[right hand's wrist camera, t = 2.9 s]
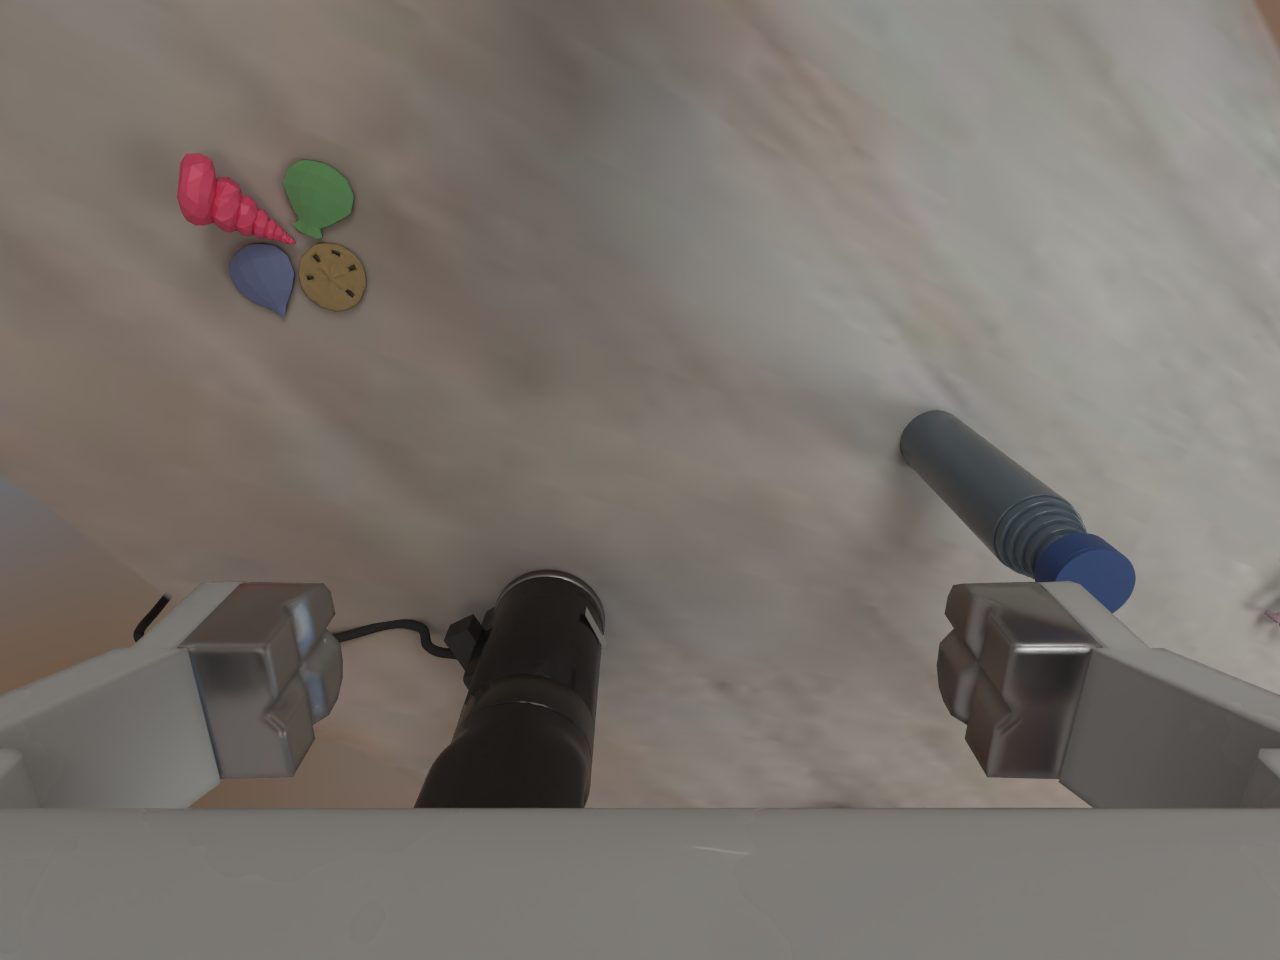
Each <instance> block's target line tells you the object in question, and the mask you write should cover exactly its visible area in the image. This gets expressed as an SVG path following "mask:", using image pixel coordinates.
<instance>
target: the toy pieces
mask: <svg viewBox="0 0 1280 960" xmlns="http://www.w3.org/2000/svg"><path fill="white" fill-rule="evenodd" d="M283 186H284V188H285V191H286V193H287V196H288V198H289V201H290V203H291V206H292V208H293V210H294V211H295V213H296V215H297V217H298V219H299V221H297V222H295V223H294V224H292V225H293V226H294V227H295V228H296V229H297V230H298V231H300V232H302V233H304V234H305V235H308V236H311V237H313V238H323V236H322V233H321V230H320V229H321V228H324V227H327V226H329V225H332V224H334V223H336V222H337V221H339V220H341V219H343V218H344V217H346V216H348V215H350V214H351V210H352V206H353V201H354V195H353V192H352V190H351V188H350V185H349V183H348V180H347V179H346V178H344V177H343V176H342V175H341V174H340V173H339V172H338V171H336V170H335V169H333V168H332V167H330V166H329V165H327V164H324V163H321V162H317V161H311V160H301V161H299V162H297V163H295V164H293V165H291V166H289V167H288V170H287V172H286V175H285V178H284V181H283ZM177 199H178V202H179V205H180V208H181V212H182V213H183V215H184V217H185V218H186V220H187V221H188V222H190V223H192V224H194V225H207V224H211V223H215V224H216V225H217V226H218V227H220V228H221V229H222V230H224V231H225V232H233V231H236V230H238V231H239V232H240V233H241V234H242V235H247V236H251V235H253V234H254V235H255V236H256V237H257V238H260V239H263V238H265V237H267V239H269V240H275V241H281V242H283V243H288V244H292V245H294V244H295V240H293V239H292V237H290V236H288V234H287V232H286V231H283V229H282V227H280V226H278V225H276V221H274V220H272V219H269V217H268V213H267V212H266V211H265V210H263V209H257V204H256V203H255V202H254V201H253V200H252V198H251V197H249V196H243V195H242V192H241V190H240V187H239V185H238V184H237V183H236V182H234V181H233V180H232V179H230V178H229V177H218V178H217V179H216V177H215V168H214V165H213V162H212V160H211V159H209V158H207V157H205V156H204V155H202V154H186V155H185V157H184V158H183V160H182V161H181V163H180V174H179V184H178V194H177ZM332 250H335V251H338V252H340V253H341V254H340V257H339V256H337V255H336V254H332ZM315 254H316V255H317V256H318V257H319V259H320V260H321V261H320V262H317V261H316V260H315V259H314V258H313V256H314V255H315ZM352 265H355V267H356V269H355V270H352V271H350V270H349V267H350V266H352ZM307 276H314V279H312V280H307ZM230 278H231V279H232V281H233V282H234V284H235V285H236V287H237V288H238V290H239V291H240V293H242V294H243V295H245V296H246V297H248V298H249V299H250V300H252V301H253V302H255V303H256V304H259V305H261V306H264V307H266V308H269V309H272V310H274V311H275V312H276V313H277V314H278V315H280V316H284V315H285V313H286V304H287V302H288V299H289V296H290V293H291V290H292V285H293V278H294V271H293V268H292V266H291V263H290V261H289V258H288V256H287V255H286V254H285V253H284V252H282V251H281V250H280V249H279V248H278V247H276V246H273V245H266V244H253V245H246V246H245V247H244V248H242V249H241V250H240V251H238V252H237V253H236V255H235V256H234V257H233V259H232V260H231V261H230ZM299 279H300V283H301V285H302V288H303V290H304V292H305V293H306V295H307V296H308V297H309V298H310V300H312V301H314V302H315V303H317V304H318V305H319V306H320V307H322V308H327V309H330V310H333V311H344V310H348V309H350V308H352V307H353V306H355V305H356V304H357V303H358V302H359V301H360V300H361V298H362V294H363V291H364V289H365V287H366V277H365V272H364V269H363V267H362V265H361V263H360V261H359V260H358V259H357V257H356V256H355V255H354V254H353V253H352V252H351V251H350V250H348V249H346V248H344V247H342V246H340V245H338V244H329V243H321V244H316V245H314V246H312V247H311V248H309V249H308V250H307V251H306V252H305V253H304V254H303V255H302V257H301V260H300V264H299ZM347 289H348V290H350V291H352V292H353V293H354V294H355V295H354V296H353V297H351V296H349V295H348V294H347V293H346V290H347Z"/></svg>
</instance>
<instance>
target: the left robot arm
mask: <svg viewBox="0 0 1280 960" xmlns="http://www.w3.org/2000/svg"><path fill="white" fill-rule="evenodd" d="M170 600H171V598H170V597H168V596H167V595H165V594H164V595H163V596H162V597H161V598H160V600H159V601H158V602H157V603H156V604H155V606H154V607H153V608H152V609H151V610H150V612H149V613H148V614H147V615H146V616H145V617H144V618H143V619H142V620H141V621H140V623H139V624H138V625H137V627H136V629H135V630H134V634H133V635H134V640H135V642H137V641H138V640H139V639H140V638H142V637H143V636H144V632H145V630H146V629H147V627H148V626H149V625H150V624H151V623H152V622H153V620H154V619H155V618H156V617H157V616H158V615H159V613H160V612H161V611H162V610H163V608H164V607H165V606H166V605H167V603H168V602H169V601H170ZM604 625H605V615H604V610H603V606H602V604H601V601H600V599H599V598H598V596H597V595H596V593H595V592H594V591H593V590H592V588H591V587H589V586H588V585H587V584H586V583H585V582H583V581H582V580H580V579H579V578H577V577H575V576H573V575H570V574H567V573H564V572H560V571H554V570H541V571H535V572H531V573H527V574H525V575H522V576H520V577H518V578H517V579H515V580H514V581H512V582H511V583H510V584H509V585H508V586H507V587H506V588H505V589H504V590H503V591H502V593H501V594H500V596H499V598H498V600H497V603H496V606H495V607H494V608H493V609H491V610H489V611H487V612H486V614H485V617H484V620H483V623H482V626H481V624H480V623H479V621H478V620H477V619H476V617H475V616H474V614H472V615H470V616H468V617H466V618H464V619H462V620H460V621H457V622H455V623H453V624H451V625H450V627H449V629H448V632H447V634H446V637H445V639H444V642H445V643H446V644H447V646H448V647H449V648H442V647H438V646H436V645H434V644H432V642H431V639H430V632H429V629H428V627H427V626H426V625H424V624H423V623H420V622H417V621H414V620H394V621H388V622H382V623H376V624H371V625H367V626H363V627H360V628H356V629H353V630H350V631H346V632H342V633H338V634H333V636H334V637H335V638H336V639H337V640H338V642H343V641H347V640H351V639H354V638H358V637H361V636H364V635H367V634H371V633H374V632H378V631H382V630H387V629H394V628H406V629H412V630H414V631H417V632H419V633H420V636H421V644H422V646H423V648H424V649H425V650H426V651H427V652H429V653H430V654H432V655H434V656H437V657H442V658H451V659H457V660H458V661H459V662H460V664H461V665H462V667H463V668H464V669H465V674H464V677H463V681H464V684H465V685H466V687H467V688H468V690H469V691H468V694H467V697H466V700H465V703H464V706H463V709H462V712H461V715H460V718H459V721H458V724H457V727H456V730H455V733H454V736H453V739H452V741H451V744H450V745H449V746H447V747H446V748H445V749H444V750H443V751H442V752H441V754H440V755H439V756H438V757H437V759H436V760H435V762H434V763H433V765H432V767H431V769H430V770H429V773H428V775H427V777H426V779H425V782H424V784H423V787H422V789H421V792H420V794H419V796H418V799H417V801H416V804H415V806H414V808H584V807H585V805H586V802H587V800H588V796H589V791H590V783H591V769H592V757H593V745H594V733H595V732H594V731H595V719H596V707H597V695H598V683H599V671H600V659H601V647H602V646H603V648H604V650H605V652H606V644H607V643H606V641H605V639H604V637H603V634H604Z"/></svg>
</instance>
